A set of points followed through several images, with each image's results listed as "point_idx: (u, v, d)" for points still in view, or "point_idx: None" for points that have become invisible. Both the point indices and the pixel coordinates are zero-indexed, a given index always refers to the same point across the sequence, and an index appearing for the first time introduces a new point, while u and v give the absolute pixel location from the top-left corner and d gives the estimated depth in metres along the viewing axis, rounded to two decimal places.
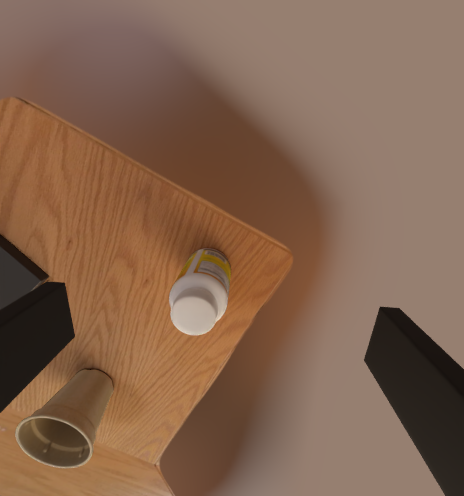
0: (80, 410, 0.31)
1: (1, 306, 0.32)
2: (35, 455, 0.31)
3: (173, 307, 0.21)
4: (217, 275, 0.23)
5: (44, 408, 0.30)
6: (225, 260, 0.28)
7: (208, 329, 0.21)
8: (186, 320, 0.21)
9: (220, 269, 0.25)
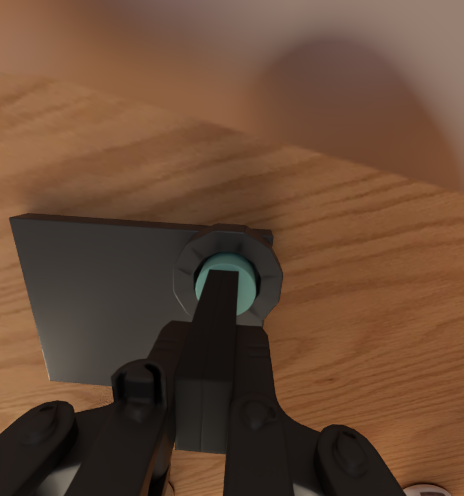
0: None
1: None
2: None
3: None
4: None
5: None
6: None
7: None
8: None
9: None
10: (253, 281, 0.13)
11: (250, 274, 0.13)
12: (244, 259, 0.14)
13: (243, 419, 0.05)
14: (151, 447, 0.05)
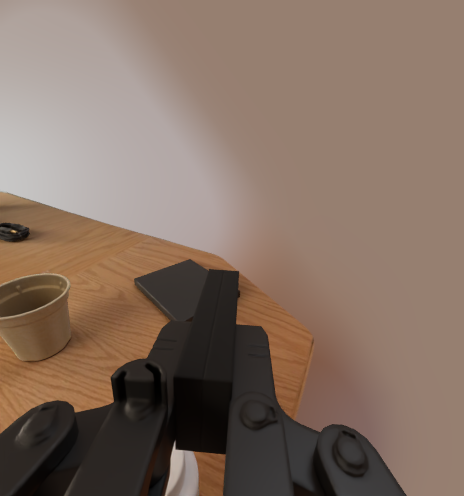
0: (41, 320, 0.29)
1: (162, 296, 0.43)
2: (21, 279, 0.33)
3: None
4: None
5: (67, 296, 0.32)
6: None
7: None
8: None
9: None
10: None
11: None
12: None
13: (243, 420, 0.05)
14: (151, 447, 0.05)
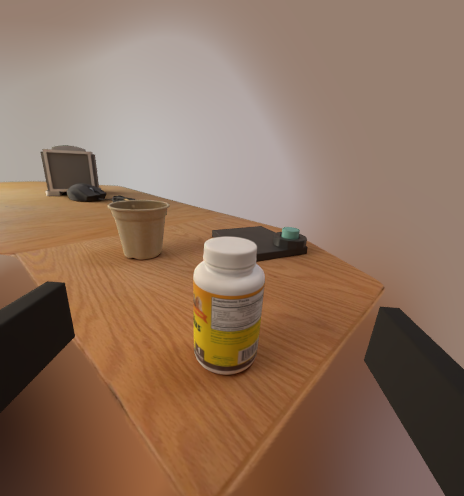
0: (147, 222, 0.38)
1: None
2: (136, 201, 0.44)
3: (245, 239, 0.20)
4: (251, 303, 0.17)
5: (166, 213, 0.41)
6: (240, 359, 0.19)
7: (209, 246, 0.17)
8: (227, 241, 0.19)
9: (248, 322, 0.18)
10: (298, 231, 0.46)
11: None
12: (298, 236, 0.47)
13: None
14: None
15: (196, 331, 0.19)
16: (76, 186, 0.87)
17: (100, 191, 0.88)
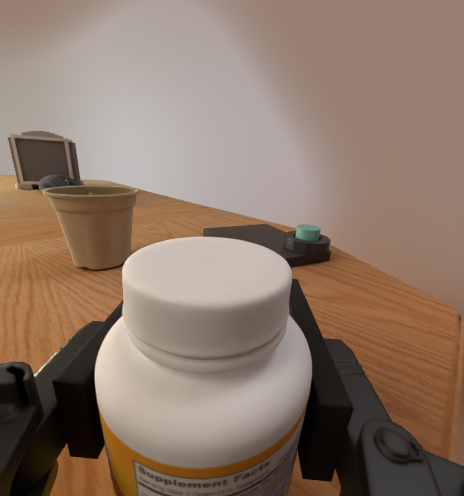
0: (101, 215, 0.25)
1: None
2: (95, 187, 0.31)
3: (255, 244, 0.07)
4: (277, 466, 0.05)
5: (133, 203, 0.28)
6: None
7: (132, 271, 0.05)
8: (203, 249, 0.07)
9: None
10: (319, 230, 0.34)
11: None
12: None
13: (380, 448, 0.05)
14: (11, 447, 0.05)
15: None
16: (48, 177, 0.75)
17: (77, 183, 0.76)
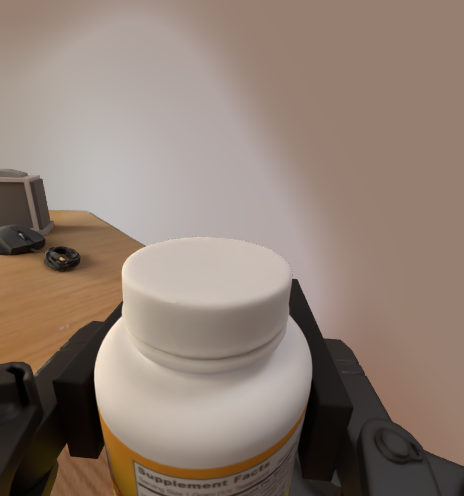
0: None
1: None
2: None
3: (255, 244, 0.07)
4: (276, 466, 0.05)
5: None
6: None
7: (132, 271, 0.05)
8: (202, 249, 0.07)
9: None
10: None
11: None
12: None
13: (380, 448, 0.05)
14: (11, 447, 0.05)
15: None
16: None
17: (35, 237, 0.62)
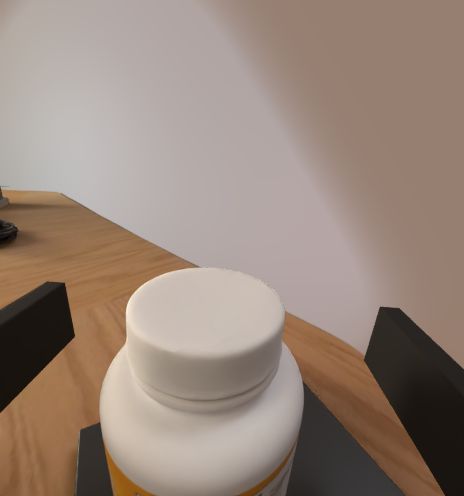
0: None
1: None
2: None
3: (251, 276, 0.08)
4: (268, 495, 0.05)
5: None
6: None
7: (135, 315, 0.05)
8: (201, 284, 0.07)
9: None
10: None
11: None
12: None
13: None
14: None
15: None
16: None
17: None
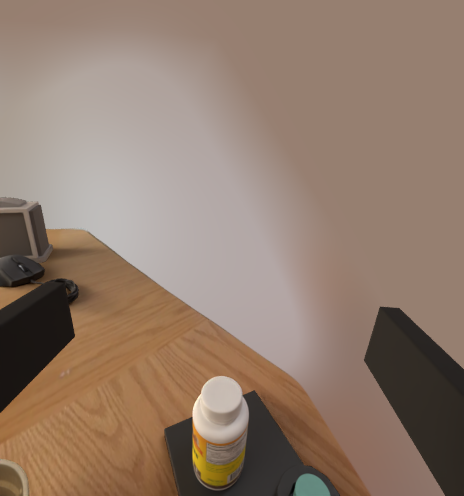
0: None
1: None
2: None
3: (234, 381, 0.25)
4: (237, 444, 0.23)
5: None
6: (228, 480, 0.24)
7: (205, 400, 0.22)
8: (219, 386, 0.24)
9: (235, 455, 0.23)
10: None
11: None
12: None
13: None
14: None
15: (194, 455, 0.24)
16: (0, 263, 0.63)
17: (34, 268, 0.64)
